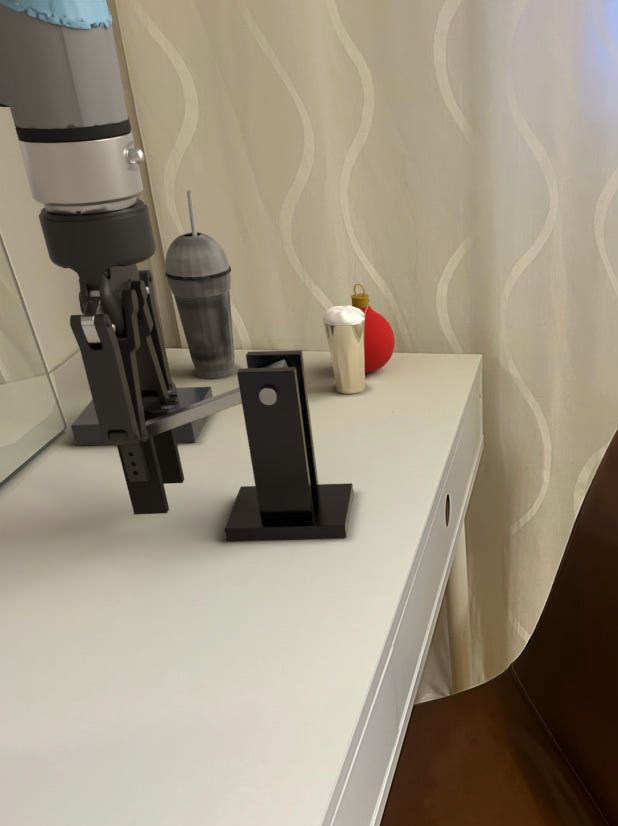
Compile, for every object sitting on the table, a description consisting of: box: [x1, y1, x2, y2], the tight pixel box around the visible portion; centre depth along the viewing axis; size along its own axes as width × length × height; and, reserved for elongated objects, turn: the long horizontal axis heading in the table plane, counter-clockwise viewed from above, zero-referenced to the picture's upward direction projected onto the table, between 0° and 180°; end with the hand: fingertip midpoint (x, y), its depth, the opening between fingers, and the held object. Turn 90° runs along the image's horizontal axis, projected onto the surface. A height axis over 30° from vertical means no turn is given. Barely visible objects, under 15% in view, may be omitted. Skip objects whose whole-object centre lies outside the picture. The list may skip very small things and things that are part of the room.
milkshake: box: [322, 298, 371, 395], centre depth 107 cm, size 4×5×10 cm
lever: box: [144, 359, 288, 436], centre depth 78 cm, size 14×5×2 cm, turn 92°
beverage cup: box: [164, 190, 236, 380], centre depth 109 cm, size 7×7×20 cm
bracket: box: [223, 349, 355, 542], centre depth 80 cm, size 10×8×14 cm
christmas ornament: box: [350, 283, 396, 374], centre depth 112 cm, size 7×7×10 cm
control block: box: [70, 382, 214, 447], centre depth 101 cm, size 12×10×4 cm
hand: (160, 495), depth 83 cm, fingers closed on lever, 5 cm apart
